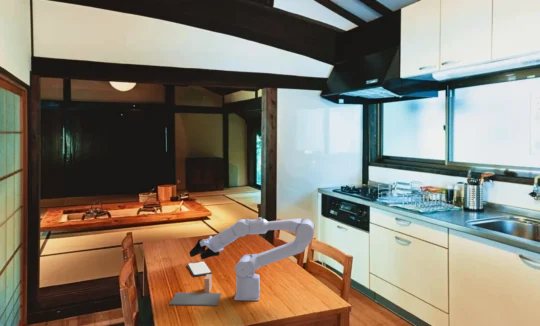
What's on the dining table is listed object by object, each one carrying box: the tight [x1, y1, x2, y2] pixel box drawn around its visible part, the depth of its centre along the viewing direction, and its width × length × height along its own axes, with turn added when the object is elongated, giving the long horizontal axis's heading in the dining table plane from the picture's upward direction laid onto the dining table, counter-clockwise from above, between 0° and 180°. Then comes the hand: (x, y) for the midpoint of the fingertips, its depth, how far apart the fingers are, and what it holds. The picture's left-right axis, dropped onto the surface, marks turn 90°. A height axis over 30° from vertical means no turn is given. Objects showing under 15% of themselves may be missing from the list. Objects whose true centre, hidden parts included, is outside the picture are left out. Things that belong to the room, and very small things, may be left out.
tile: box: [203, 273, 213, 293], centre depth 149 cm, size 2×5×6 cm, turn 178°
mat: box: [169, 292, 222, 307], centre depth 141 cm, size 18×10×1 cm, turn 88°
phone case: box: [186, 260, 213, 278], centre depth 173 cm, size 9×2×16 cm
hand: (195, 255), depth 146 cm, fingers open, 7 cm apart
